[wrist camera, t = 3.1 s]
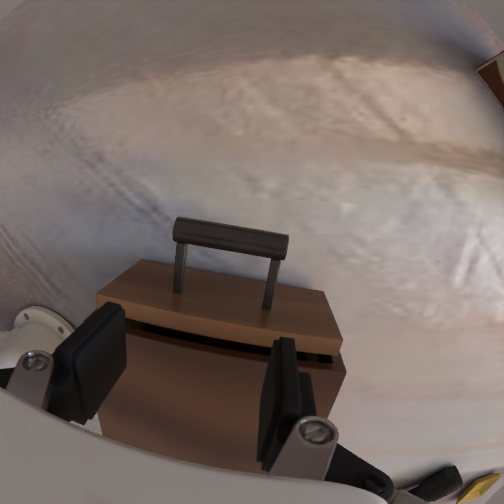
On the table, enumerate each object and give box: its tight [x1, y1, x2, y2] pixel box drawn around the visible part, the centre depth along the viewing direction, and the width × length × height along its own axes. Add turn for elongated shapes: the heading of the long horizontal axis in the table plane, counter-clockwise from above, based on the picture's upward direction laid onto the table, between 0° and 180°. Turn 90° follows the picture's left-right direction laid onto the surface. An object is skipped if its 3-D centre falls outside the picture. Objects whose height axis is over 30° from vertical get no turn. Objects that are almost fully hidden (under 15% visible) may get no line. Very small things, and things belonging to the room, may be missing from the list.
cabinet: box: [84, 309, 347, 475], centre depth 24 cm, size 16×17×10 cm
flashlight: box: [407, 465, 463, 502], centre depth 32 cm, size 5×21×5 cm, turn 117°
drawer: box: [96, 217, 343, 362], centre depth 22 cm, size 20×15×8 cm
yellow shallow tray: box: [456, 473, 502, 504], centre depth 34 cm, size 9×9×2 cm
